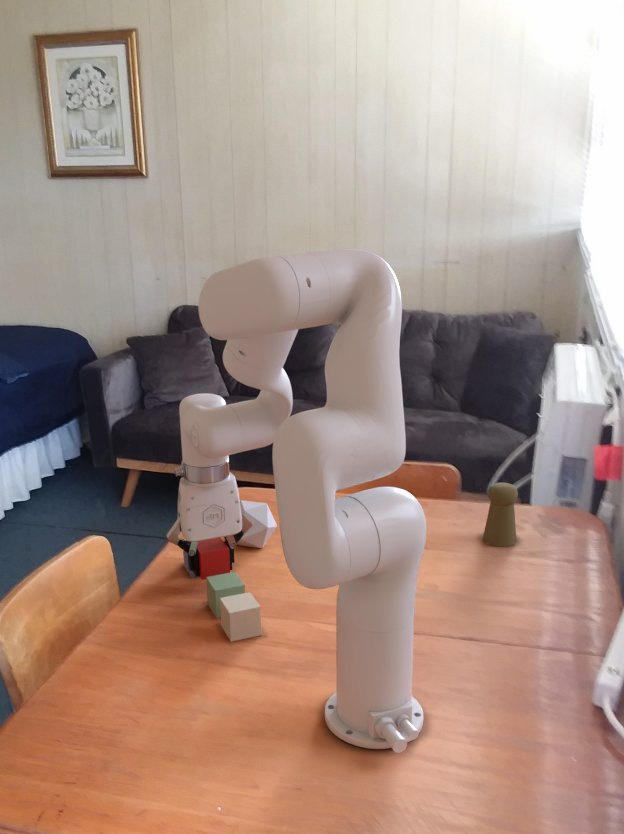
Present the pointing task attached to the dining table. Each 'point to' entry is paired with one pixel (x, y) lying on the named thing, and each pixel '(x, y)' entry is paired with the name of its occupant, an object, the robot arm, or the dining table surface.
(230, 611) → the cream block
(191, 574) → the blue block
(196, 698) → the dining table surface
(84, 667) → the dining table surface
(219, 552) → the red block
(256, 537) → the die
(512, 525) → the cork
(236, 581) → the sage block
